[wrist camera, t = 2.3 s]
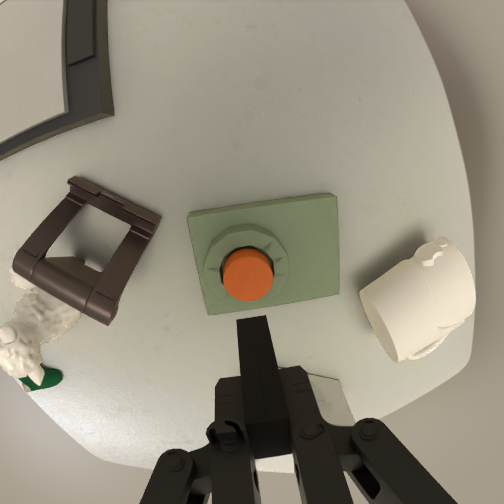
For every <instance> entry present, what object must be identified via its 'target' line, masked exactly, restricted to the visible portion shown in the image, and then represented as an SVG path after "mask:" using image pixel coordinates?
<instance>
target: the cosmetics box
mask: <svg viewBox="0 0 504 504" xmlns="http://www.w3.org/2000/svg"><path fill="white" fill-rule="evenodd" d="M278 369H282V368H278ZM308 377H309V380H310V383H311V386H312V390H313V392H314V395H315V398H316V401H317V404H318V407H319V410H320V413H321V415H322V417H323V419H324V420H325V421H327V422H328V423H330V424H332V425H336V426H354V424H355V420H354V418H353V415H352V413H351V410H350V408H349V405H348V403H347V400H346V398H345V396H344V393H343V390H342V388H341V385H340V382H339V380H335V379H330V378H324V377H319V376H315V375H310V374H308ZM255 465H256V469H257V471H266V472H281V473H294V459H293V455H292V454H288V455H283V456H277V457H270V458H263V459H256V460H255Z"/></svg>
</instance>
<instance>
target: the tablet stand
mask: <svg viewBox="0 0 504 504" xmlns="http://www.w3.org/2000/svg"><path fill="white" fill-rule="evenodd" d="M67 183H68V184H69V185H70V192H69V193H68V194H67V195H66V197H65V198H64V199H63V200H62V201H61V203H60V204H59V205H58V206H57V207H56V208H55V209H54V210H53V211H52V212H51V213H50V214H49V215H48V216H47V217H46V219H45V220H44V221H43V222H42V223H41V224H40V225H39V226H38V228H37V229H36V230H35V231H34V232H33V233H32V234H31V236H30V237H29V238H28V239H27V241H26V242H25V243H24V244H23V245H22V247H21V248H20V249H19V250H18V252H17V253H16V255H15V257H14V260H13V265H12V269H13V271H14V272H15V273H17V274H18V275H20V276H21V277H23V278H24V279H26V280H27V281H29V282H30V283H32V284H34V285H35V286H37V287H38V288H40V289H42V290H43V291H45V292H47V293H48V294H50V295H52V296H53V297H55V298H57V299H58V300H60V301H62V302H64V303H65V304H67V305H69V306H71V307H73V308H74V309H76V310H78V311H80V312H82V313H84V314H86V315H87V316H89V317H91V318H93V319H95V320H97V321H99V322H101V323H103V324H105V325H107V326H109V325H110V323H111V321H112V320H113V319H114V318H115V316H116V314H117V311H118V304H119V301H120V297H121V295H122V292H123V290H124V288H125V286H126V284H127V282H128V280H129V278H130V276H131V275H132V273H133V271H134V269H135V267H136V265H137V263H138V262H139V260H140V258H141V256H142V254H143V252H144V251H145V249H146V247H147V245H148V243H149V242H150V240H151V238H152V236H153V235H154V233H155V231H156V229H157V227H158V224H159V222H160V219H161V218H160V217H158V216H156V215H154V214H152V213H150V212H148V211H146V210H144V209H142V208H140V207H138V206H136V205H134V204H132V203H130V202H128V201H126V200H124V199H122V198H120V197H118V196H116V195H114V194H112V193H110V192H108V191H106V190H104V189H102V188H100V187H98V186H96V185H93V184H91V183H89V182H87V181H85V180H83V179H81V178H79V177H77V176H73V177H72V178H70V179H68V182H67ZM87 203H88V204H90V205H92V206H94V207H96V208H98V209H100V210H102V211H104V212H106V213H108V214H110V215H112V216H114V217H116V218H118V219H120V220H122V221H124V222H126V223H128V224H130V225H132V226H131V228H130V230H129V232H128V233H127V235H126V236H125V238H124V239H123V241H122V243H121V244H120V246H119V247H118V249H117V250H116V252H115V254H114V255H113V257H112V258H111V260H110V262H109V263H108V265H107V267H106V268H105V270H104V272H98V271H96V270H94V269H92V268H90V267H88V266H86V265H84V264H85V262H83V261H82V260H80V259H78V258H76V257H73V256H72V257H50V258H45V256H46V253H47V251H48V249H49V248H50V247H51V245H52V244H53V243H54V241H55V240H56V239H57V238H58V236H59V235H60V234H61V233H62V232H63V230H64V229H65V228H66V227H67V225H68V224H69V223H70V222H71V221H72V220H73V218H74V217H75V216H76V215H77V214H78V213H79V211H80V210H81V209H82V208H83V207H84V206H85V205H86V204H87Z"/></svg>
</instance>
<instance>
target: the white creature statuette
mask: <svg viewBox="0 0 504 504" xmlns="http://www.w3.org/2000/svg"><path fill="white" fill-rule="evenodd" d="M9 272H10V274H11V275H12V276H11V280H12V282H13V283H14V284H15V285H16V286H17V287H20V288H21V289H27V290H29V289H32V290H31V292H30V293H29V294H25V295H24V296H23V298H22V299H21V300H20V301H19V302H16V303H15V305H14V306H15V311H14V317H13V318H12V322H7V323H5V324H4V326H3V327H0V365H1V366H2V369H3V370H5V371H7V372H8V375H9V376H15V377H16V378H22V377H26V376H27V375H28V376H29V377H30V378H31V379H32V380H33V382H34V383H36V384H37V385H38V386H40V385H41V383H42V380H43V377H44V374H45V373H44V370H43V368H42V367H41V366H40V364H41V363H42V362H43V361H44V360H43V358H42V357H41V353H40V345H42V344H43V343H49V341H52V340H58V339H59V337H60V336H61V335H62V334H63V332H65V331H66V330H67V329H69V328H71V327H72V325H73V324H74V323H76V322H77V319H80V313H81V312H80V311H78V310H76V309H74V308H73V307H71V306H69V305H67V304H65V303H64V302H62V301H60V300H58V299H57V298H55V297H53V296H52V295H50V294H48V293H47V292H45V291H43V290H42V289H40V288H38V287H37V286H35V285H34V284H32V283H30V282H29V281H27V280H26V279H24V278H23V277H21V276H20V275H18V274H17V273H15V272H14V271H13V269H12V266H11V267H10V270H9Z"/></svg>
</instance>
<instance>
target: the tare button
mask: <svg viewBox="0 0 504 504" xmlns="http://www.w3.org/2000/svg"><path fill="white" fill-rule="evenodd" d="M223 283H224V287H225V289H226V290H227V292H228V293H229V294H230V295H231V296H232V297H234V298H236V299H238V300H241V301H254V300H257V299H260V298H261V297H263V296H264V295H265V294H266V293H267V292H268V291H269V290H270V288H271V286H272V283H273V273H272V270H271V267H270V264H269V261H268V259H267V258H266V257H265V255H264V254H262V253H261V252H259V251H257V250H255V249H249V248H246V249H240V250H237V251H235V252H234V253H232V254H231V255H230V256H229V257H228V258H227V260H226V262H225V264H224V269H223Z"/></svg>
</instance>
